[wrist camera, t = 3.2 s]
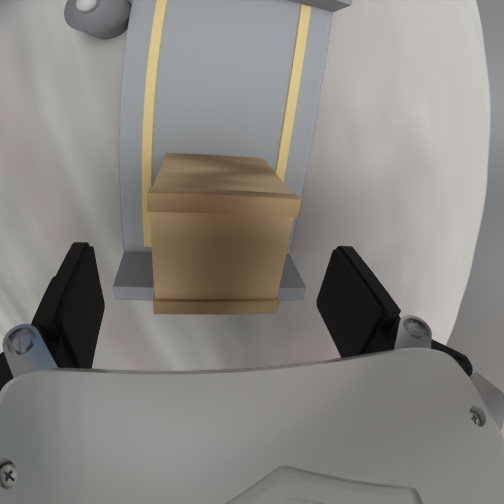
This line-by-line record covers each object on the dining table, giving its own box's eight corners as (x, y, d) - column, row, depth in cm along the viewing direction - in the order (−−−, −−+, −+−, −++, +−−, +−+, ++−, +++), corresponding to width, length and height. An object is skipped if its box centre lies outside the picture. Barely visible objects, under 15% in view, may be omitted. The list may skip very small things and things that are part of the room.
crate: (265, 157, 18) (301, 199, 12) (252, 243, 21) (276, 312, 15) (164, 151, 17) (146, 193, 11) (163, 241, 20) (154, 313, 14)
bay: (328, -2, 14) (365, -20, 9) (283, 258, 24) (302, 299, 20) (96, -18, 11) (69, -42, 6) (91, 254, 21) (72, 296, 17)
